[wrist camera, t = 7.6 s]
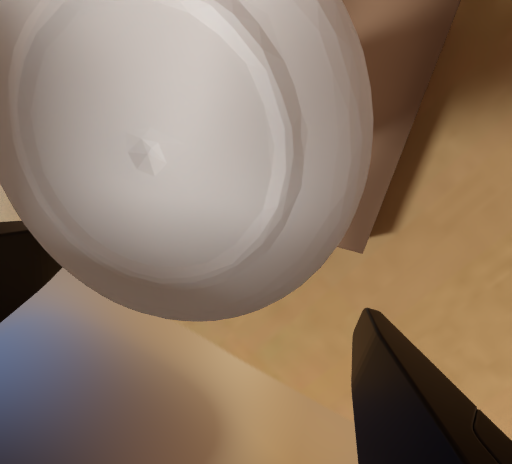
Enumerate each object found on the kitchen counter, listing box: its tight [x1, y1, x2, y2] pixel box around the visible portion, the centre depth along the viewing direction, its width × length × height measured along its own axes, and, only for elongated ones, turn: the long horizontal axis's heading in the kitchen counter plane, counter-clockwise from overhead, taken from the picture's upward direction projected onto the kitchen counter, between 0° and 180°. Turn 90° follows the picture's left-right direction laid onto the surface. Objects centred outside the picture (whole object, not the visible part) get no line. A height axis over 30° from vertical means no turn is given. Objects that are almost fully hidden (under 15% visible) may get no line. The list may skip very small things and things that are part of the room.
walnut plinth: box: [337, 0, 461, 254], centre depth 16 cm, size 12×12×2 cm
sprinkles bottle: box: [0, 0, 373, 321], centre depth 9 cm, size 5×5×14 cm
